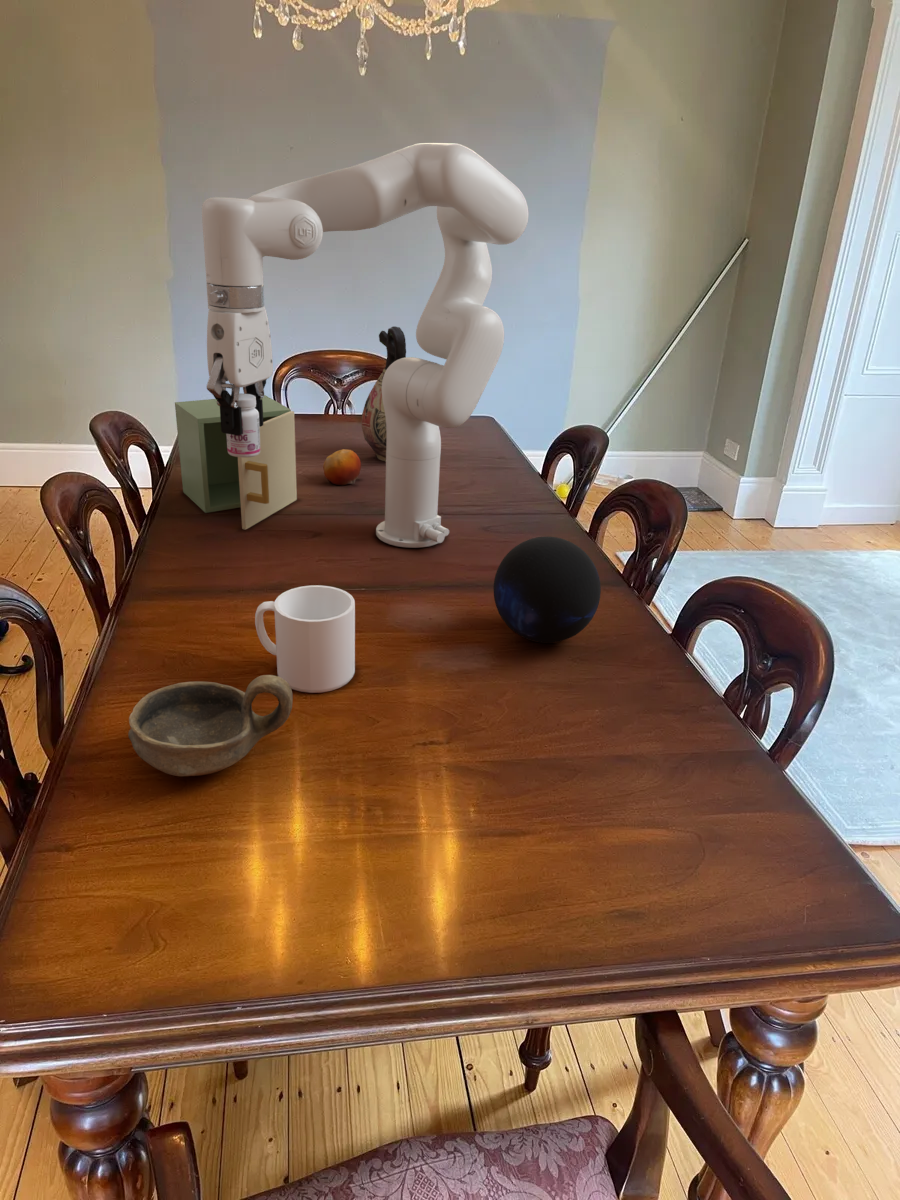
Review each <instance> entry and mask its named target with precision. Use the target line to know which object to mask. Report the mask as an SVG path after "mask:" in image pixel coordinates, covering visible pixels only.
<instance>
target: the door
mask: <svg viewBox="0 0 900 1200" xmlns="http://www.w3.org/2000/svg"><path fill="white" fill-rule="evenodd" d="M295 424H296V423H295V411H293V410H291V411H290V412H287V413H285V414H282V415H280V416H277V417H275V418H272V419H270V420H267V421H265V422H263V426H261V427H260V453H259V454H258V455H256V456H253V457H238V470H239V486H240V502H241V507H240V516H241V517H240V518H241V529H242V530H246V531H247V530H248V529H250V528H251V527H253V526H255V525H257V524H258V523H260V522H261V521H263V520H265V519H267V518H268V517H270V516H272V515H273V514H275V513H277V512H278V511H279V512H280V510H282V509H284V508H285V507H287V506H289V505H290V504H292V503H295V502H296V501H297V500H298V494H297V491H298V489H297V458H296V457H297V456H296V430H295V428H296V427H295Z"/></svg>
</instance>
